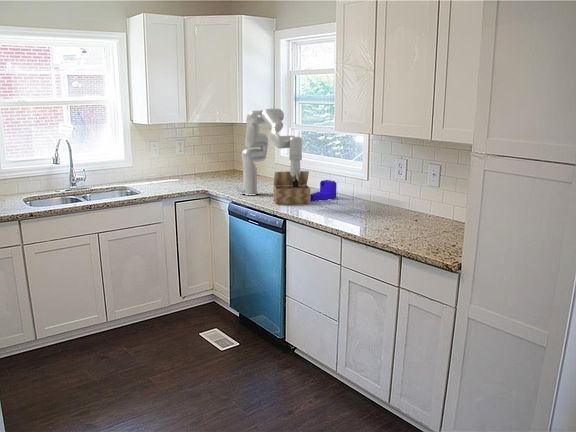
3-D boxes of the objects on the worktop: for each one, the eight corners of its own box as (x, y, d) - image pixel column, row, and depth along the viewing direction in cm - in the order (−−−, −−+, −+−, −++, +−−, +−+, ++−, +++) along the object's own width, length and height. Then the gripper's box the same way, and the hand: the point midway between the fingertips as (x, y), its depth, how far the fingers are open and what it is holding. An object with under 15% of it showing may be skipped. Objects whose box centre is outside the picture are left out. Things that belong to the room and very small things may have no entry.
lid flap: (274, 172, 333) (274, 171, 333) (273, 185, 342) (273, 185, 342) (308, 171, 336) (308, 170, 337) (306, 184, 345) (306, 184, 345)
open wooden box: (275, 204, 333) (275, 189, 330) (273, 200, 344) (273, 185, 342) (310, 203, 336) (310, 188, 334) (306, 200, 347) (306, 185, 345)
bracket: (324, 196, 360) (324, 179, 357) (336, 198, 352) (336, 181, 349) (305, 200, 348) (305, 182, 345) (316, 202, 340) (317, 184, 337)
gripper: (287, 156, 325) (287, 185, 329) (291, 159, 311) (291, 189, 315) (299, 155, 326) (299, 185, 330) (303, 158, 312) (303, 189, 316)
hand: (295, 187), depth 323 cm, fingers closed
